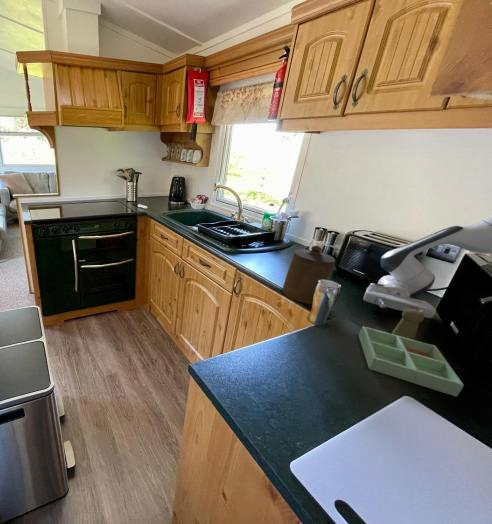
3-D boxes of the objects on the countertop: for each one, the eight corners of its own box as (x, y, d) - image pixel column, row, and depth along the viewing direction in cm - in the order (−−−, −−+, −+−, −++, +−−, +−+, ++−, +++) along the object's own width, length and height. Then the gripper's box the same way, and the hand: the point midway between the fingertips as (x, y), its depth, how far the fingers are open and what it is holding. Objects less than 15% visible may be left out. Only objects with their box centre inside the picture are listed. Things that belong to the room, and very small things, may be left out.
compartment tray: (430, 355, 88) (435, 345, 87) (456, 397, 73) (464, 385, 71) (358, 335, 96) (362, 326, 94) (369, 369, 80) (374, 358, 79)
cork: (397, 343, 93) (411, 314, 89) (385, 332, 98) (398, 304, 94) (418, 346, 92) (433, 317, 88) (405, 335, 98) (418, 307, 94)
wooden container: (328, 299, 119) (345, 249, 111) (309, 307, 111) (326, 254, 103) (294, 285, 131) (308, 238, 122) (274, 291, 123) (288, 242, 115)
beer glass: (309, 314, 107) (321, 277, 101) (330, 322, 102) (344, 284, 97) (302, 320, 102) (315, 282, 97) (324, 329, 98) (338, 290, 92)
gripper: (426, 312, 108) (436, 329, 97) (360, 295, 118) (362, 309, 107) (433, 297, 106) (444, 313, 95) (366, 281, 116) (368, 294, 105)
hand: (400, 311), depth 101 cm, fingers open, 8 cm apart
